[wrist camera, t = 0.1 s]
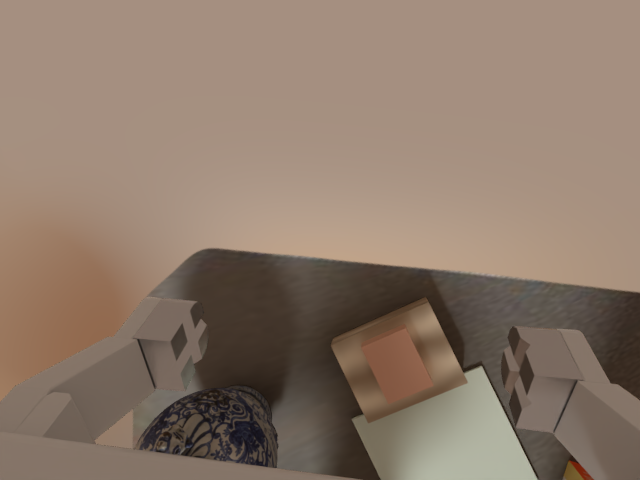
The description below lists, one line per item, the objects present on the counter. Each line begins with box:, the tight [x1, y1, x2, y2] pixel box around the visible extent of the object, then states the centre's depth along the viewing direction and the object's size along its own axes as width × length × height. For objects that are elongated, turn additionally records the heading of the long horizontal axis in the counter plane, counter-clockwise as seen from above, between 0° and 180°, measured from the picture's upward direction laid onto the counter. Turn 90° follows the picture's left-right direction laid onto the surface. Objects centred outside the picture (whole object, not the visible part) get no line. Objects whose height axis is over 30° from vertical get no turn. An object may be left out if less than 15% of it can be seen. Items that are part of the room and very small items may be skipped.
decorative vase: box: [135, 385, 278, 468], centre depth 55 cm, size 21×19×28 cm
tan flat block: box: [330, 297, 468, 423], centre depth 63 cm, size 13×16×4 cm
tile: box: [361, 324, 434, 404], centre depth 60 cm, size 9×7×2 cm
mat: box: [352, 365, 537, 480], centre depth 64 cm, size 20×22×1 cm
